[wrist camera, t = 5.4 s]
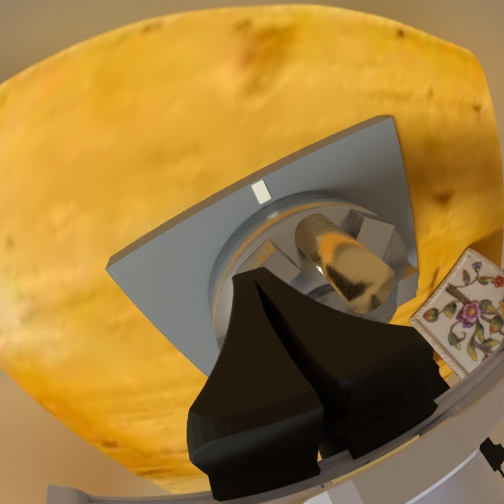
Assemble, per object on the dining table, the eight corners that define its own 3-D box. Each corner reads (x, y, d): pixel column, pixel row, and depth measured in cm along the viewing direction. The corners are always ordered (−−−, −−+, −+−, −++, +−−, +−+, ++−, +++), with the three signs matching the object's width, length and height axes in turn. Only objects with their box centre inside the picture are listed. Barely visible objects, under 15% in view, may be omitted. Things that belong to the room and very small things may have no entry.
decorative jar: (479, 285, 30) (557, 357, 15) (429, 345, 33) (499, 429, 17) (467, 241, 25) (578, 329, 9) (405, 318, 27) (503, 432, 12)
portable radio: (376, 390, 34) (457, 517, 12) (397, 361, 31) (493, 497, 10) (409, 380, 36) (485, 488, 15) (429, 353, 34) (516, 465, 12)
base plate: (408, 280, 24) (418, 289, 23) (227, 384, 24) (231, 397, 23) (378, 115, 16) (393, 117, 15) (110, 257, 16) (105, 270, 15)
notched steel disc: (380, 315, 23) (433, 377, 16) (240, 374, 21) (267, 459, 14) (379, 169, 16) (479, 214, 9) (175, 234, 15) (179, 341, 8)
